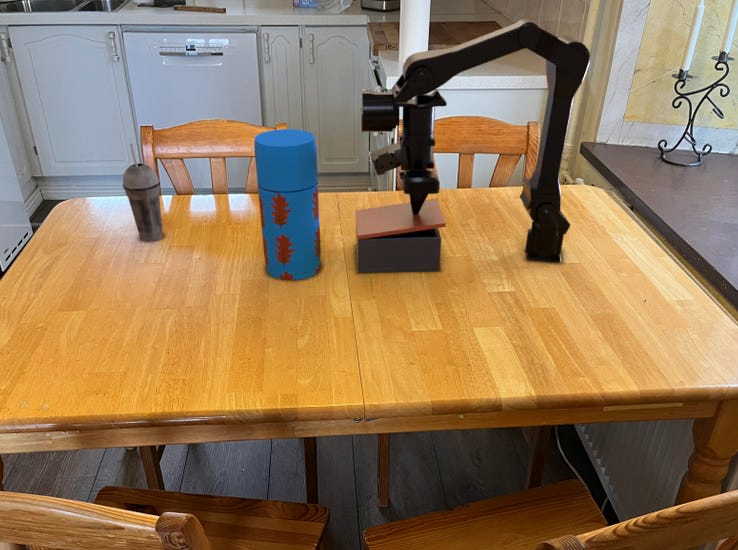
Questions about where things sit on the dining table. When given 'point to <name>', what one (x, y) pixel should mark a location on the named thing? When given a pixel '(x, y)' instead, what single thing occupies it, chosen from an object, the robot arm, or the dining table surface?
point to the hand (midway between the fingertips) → (415, 213)
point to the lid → (398, 219)
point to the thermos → (289, 202)
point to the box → (400, 252)
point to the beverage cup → (144, 199)
